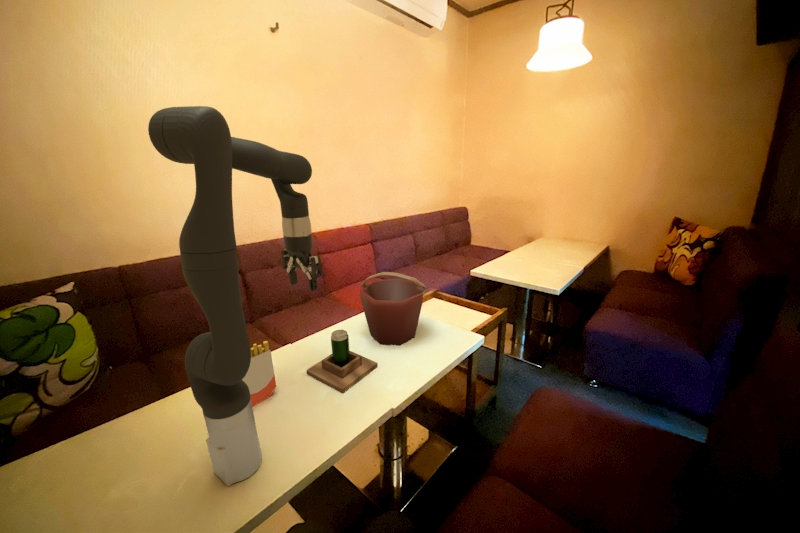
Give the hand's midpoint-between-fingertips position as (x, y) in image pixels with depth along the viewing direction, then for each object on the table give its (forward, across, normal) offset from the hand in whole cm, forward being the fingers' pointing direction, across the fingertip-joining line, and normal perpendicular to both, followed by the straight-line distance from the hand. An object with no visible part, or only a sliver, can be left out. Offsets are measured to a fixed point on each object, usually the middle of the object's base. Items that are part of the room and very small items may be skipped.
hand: (303, 287), depth 101 cm
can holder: (+30, +6, +7) cm, 31 cm away
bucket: (+30, +6, +34) cm, 46 cm away
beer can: (+29, +6, +7) cm, 30 cm away
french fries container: (+30, -5, -17) cm, 35 cm away
